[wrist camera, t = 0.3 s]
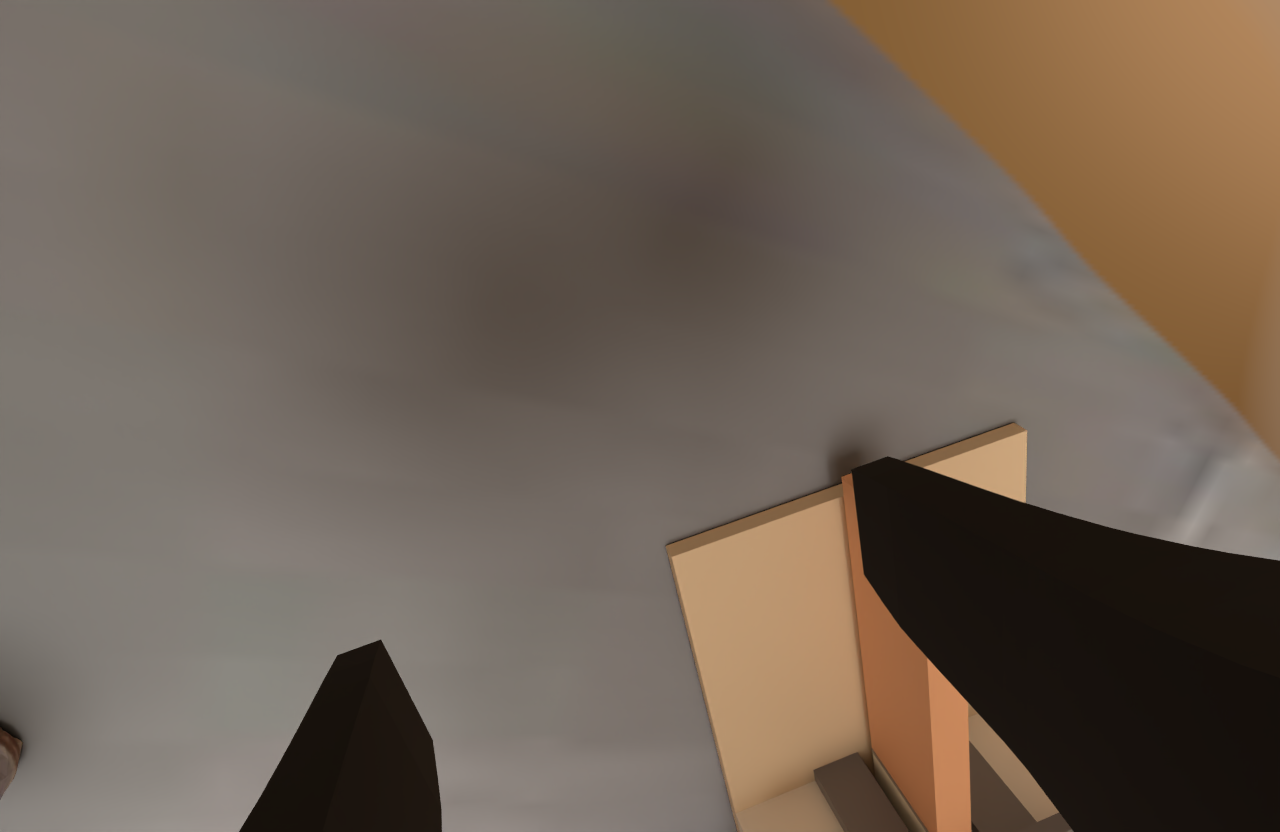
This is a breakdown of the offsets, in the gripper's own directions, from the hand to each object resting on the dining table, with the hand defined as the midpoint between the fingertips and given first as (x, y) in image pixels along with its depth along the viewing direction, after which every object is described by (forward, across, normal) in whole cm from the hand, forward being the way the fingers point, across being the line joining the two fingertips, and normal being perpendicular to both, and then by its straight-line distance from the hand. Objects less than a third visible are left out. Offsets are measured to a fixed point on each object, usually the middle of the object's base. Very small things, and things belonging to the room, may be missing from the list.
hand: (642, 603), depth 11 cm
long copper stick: (+9, -8, +16) cm, 20 cm away
